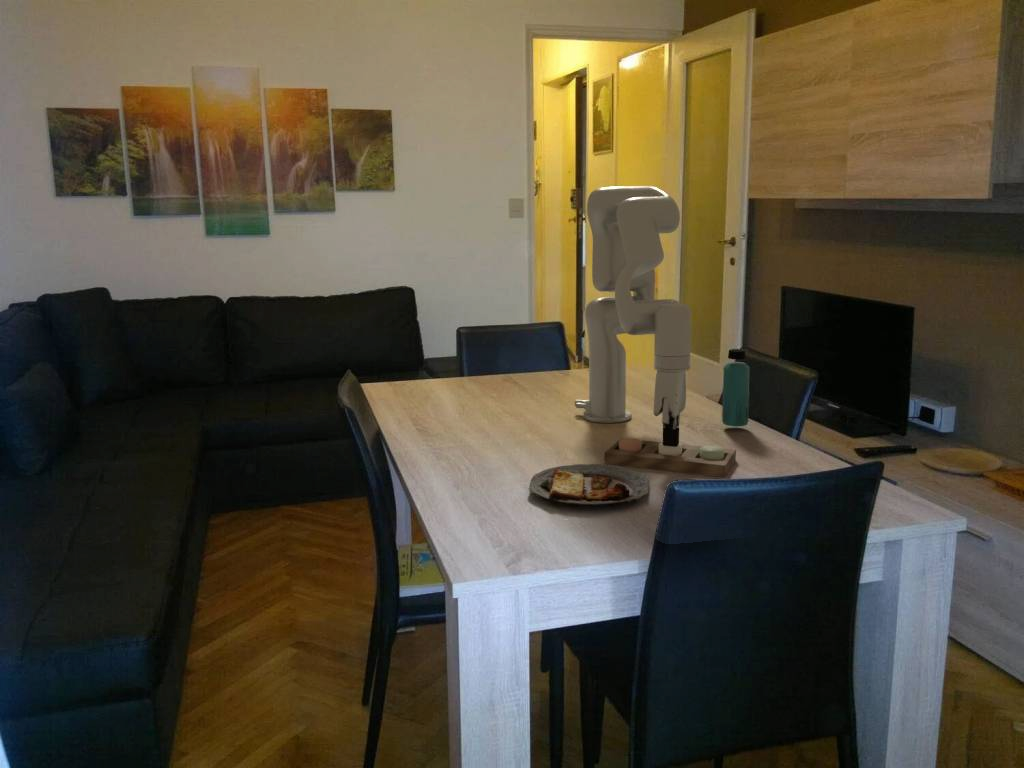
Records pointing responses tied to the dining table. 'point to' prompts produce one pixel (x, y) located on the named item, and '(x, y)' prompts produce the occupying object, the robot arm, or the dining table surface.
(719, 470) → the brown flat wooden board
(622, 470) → the food plate
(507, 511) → the dining table surface
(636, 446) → the terracotta button
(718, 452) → the sage button
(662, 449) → the cream button
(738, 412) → the beverage bottle
